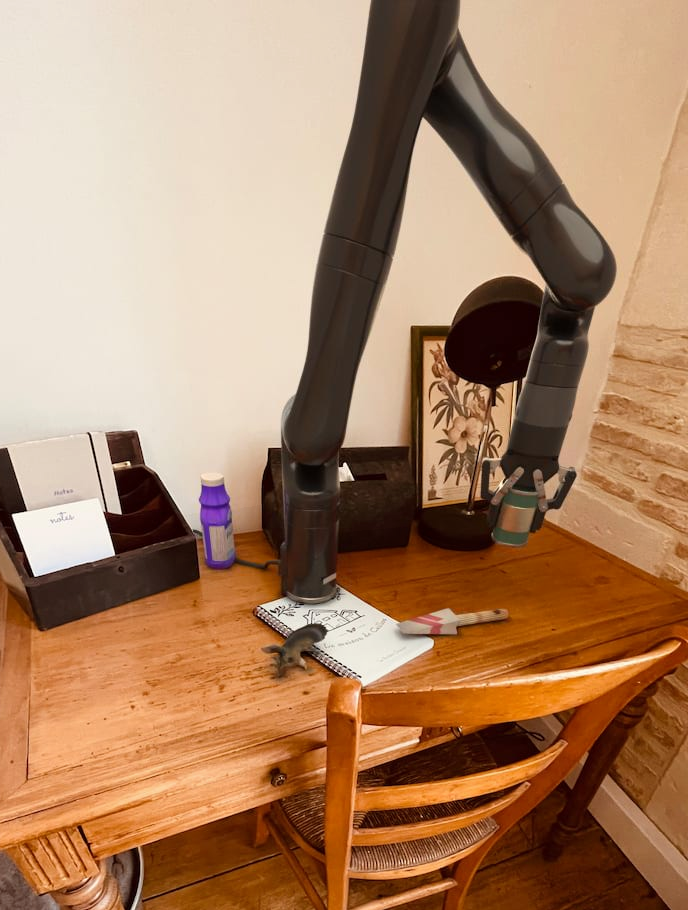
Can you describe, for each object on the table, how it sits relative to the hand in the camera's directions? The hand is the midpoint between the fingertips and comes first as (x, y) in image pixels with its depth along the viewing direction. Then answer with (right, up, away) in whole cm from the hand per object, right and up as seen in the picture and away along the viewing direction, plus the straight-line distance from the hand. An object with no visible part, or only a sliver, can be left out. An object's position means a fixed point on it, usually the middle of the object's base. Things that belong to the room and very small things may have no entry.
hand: (511, 527), depth 84 cm
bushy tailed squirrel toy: (-34, -22, -6) cm, 41 cm away
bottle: (-51, -3, +19) cm, 54 cm away
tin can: (0, -2, +1) cm, 2 cm away
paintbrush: (-9, -16, +3) cm, 19 cm away
